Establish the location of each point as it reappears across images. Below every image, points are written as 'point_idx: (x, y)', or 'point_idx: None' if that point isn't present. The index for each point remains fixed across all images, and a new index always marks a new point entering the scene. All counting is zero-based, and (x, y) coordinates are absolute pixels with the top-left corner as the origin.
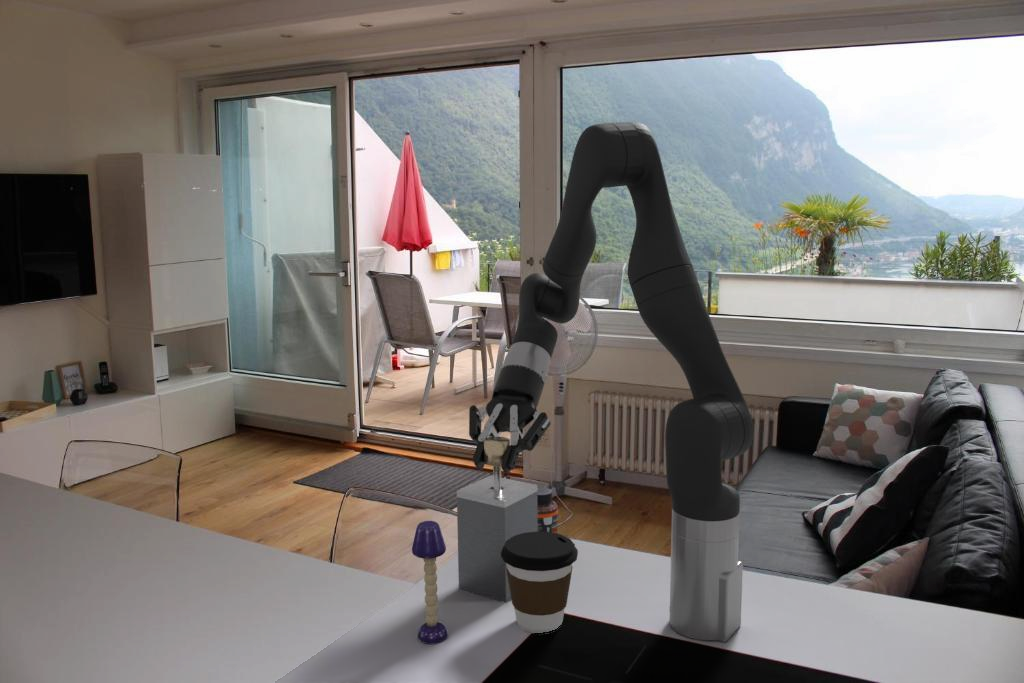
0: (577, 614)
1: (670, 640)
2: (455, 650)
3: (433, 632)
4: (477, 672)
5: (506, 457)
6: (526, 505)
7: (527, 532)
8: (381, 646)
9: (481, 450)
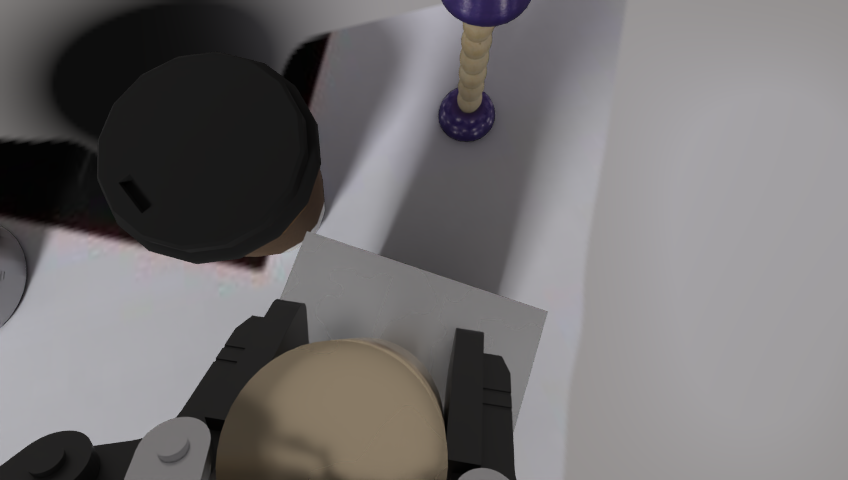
0: (213, 267)
1: (33, 210)
2: (409, 83)
3: (457, 89)
4: (351, 31)
5: (262, 339)
6: None
7: (250, 226)
8: (541, 63)
9: (457, 398)
